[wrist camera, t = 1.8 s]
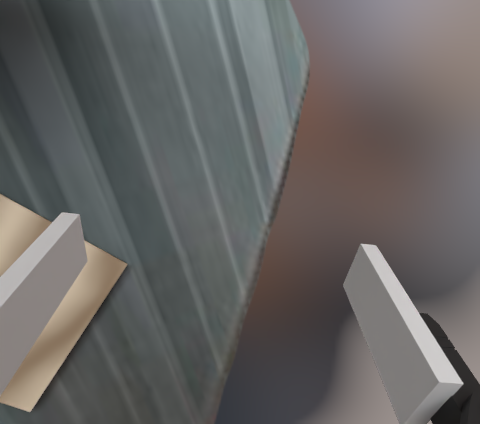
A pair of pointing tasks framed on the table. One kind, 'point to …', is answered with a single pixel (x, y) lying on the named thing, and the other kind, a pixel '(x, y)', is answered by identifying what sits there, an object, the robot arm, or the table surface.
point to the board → (68, 312)
